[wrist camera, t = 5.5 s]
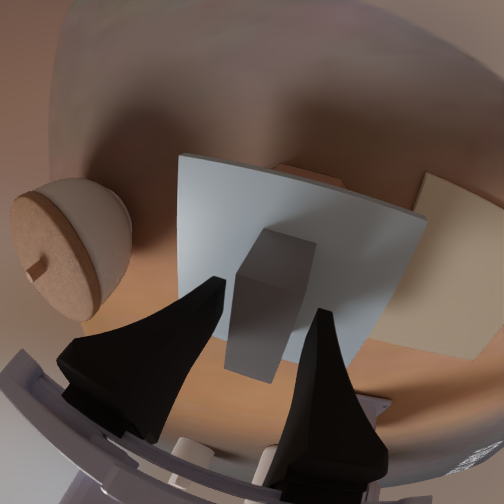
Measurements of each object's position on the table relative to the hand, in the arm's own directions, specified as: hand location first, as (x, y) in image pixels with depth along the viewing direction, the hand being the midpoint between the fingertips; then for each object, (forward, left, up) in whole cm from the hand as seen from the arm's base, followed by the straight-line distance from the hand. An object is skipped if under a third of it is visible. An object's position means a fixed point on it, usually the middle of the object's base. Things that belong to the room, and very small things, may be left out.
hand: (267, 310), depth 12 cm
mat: (0, -13, -7) cm, 15 cm away
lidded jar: (-3, +16, -7) cm, 18 cm away
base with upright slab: (-59, +8, -7) cm, 60 cm away
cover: (0, 0, -2) cm, 3 cm away
